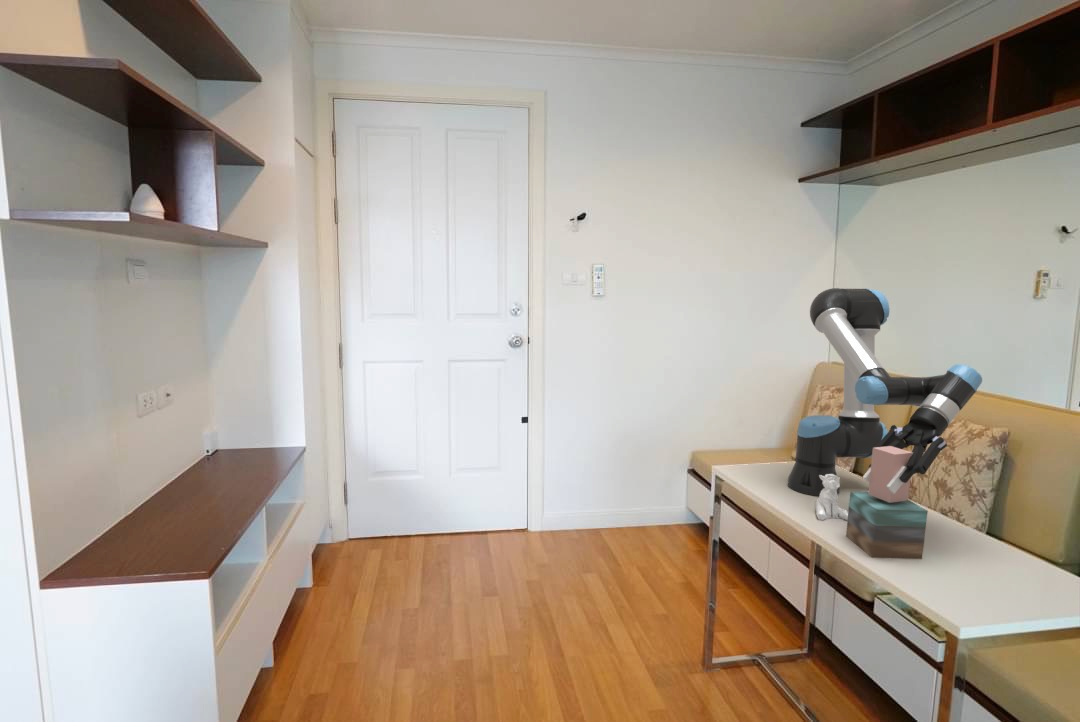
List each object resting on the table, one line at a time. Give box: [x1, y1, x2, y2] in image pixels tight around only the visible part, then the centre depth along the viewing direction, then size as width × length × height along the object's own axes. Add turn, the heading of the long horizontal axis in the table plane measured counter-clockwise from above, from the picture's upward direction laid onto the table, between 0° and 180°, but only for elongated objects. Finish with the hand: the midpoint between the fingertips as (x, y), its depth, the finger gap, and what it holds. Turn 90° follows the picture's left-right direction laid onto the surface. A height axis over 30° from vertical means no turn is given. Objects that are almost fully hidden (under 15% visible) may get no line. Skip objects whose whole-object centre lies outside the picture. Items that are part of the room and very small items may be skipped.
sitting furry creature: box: [815, 474, 848, 521], centre depth 163 cm, size 10×9×12 cm
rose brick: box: [867, 446, 913, 503], centre depth 141 cm, size 6×6×12 cm
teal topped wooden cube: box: [845, 491, 928, 560], centre depth 143 cm, size 12×12×12 cm
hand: (878, 485), depth 140 cm, fingers closed on rose brick, 6 cm apart
